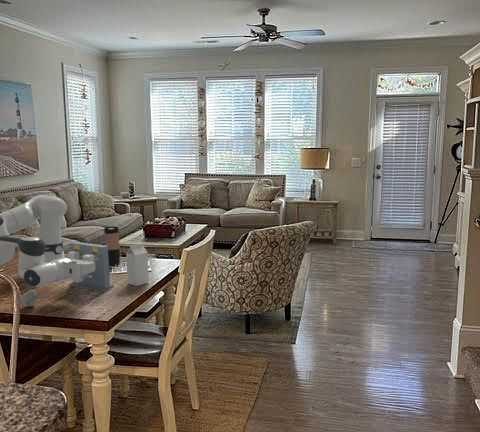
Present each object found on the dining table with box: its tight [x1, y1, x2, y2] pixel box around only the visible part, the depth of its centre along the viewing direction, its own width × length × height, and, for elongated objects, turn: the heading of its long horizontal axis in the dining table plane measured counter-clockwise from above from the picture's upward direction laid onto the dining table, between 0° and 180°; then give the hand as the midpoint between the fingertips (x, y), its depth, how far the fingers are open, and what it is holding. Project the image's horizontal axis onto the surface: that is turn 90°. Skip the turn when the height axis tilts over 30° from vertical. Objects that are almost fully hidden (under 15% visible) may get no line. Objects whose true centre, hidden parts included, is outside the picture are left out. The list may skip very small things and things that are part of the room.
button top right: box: [83, 253, 100, 262], centre depth 213 cm, size 4×10×4 cm, turn 153°
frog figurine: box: [20, 289, 39, 308], centre depth 194 cm, size 6×7×7 cm
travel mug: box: [103, 226, 121, 266], centre depth 258 cm, size 8×8×20 cm
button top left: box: [67, 250, 82, 260], centre depth 220 cm, size 4×10×4 cm, turn 153°
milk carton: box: [125, 242, 150, 287], centre depth 223 cm, size 7×7×19 cm
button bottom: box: [71, 273, 91, 283], centre depth 216 cm, size 4×10×4 cm, turn 153°
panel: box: [68, 241, 115, 292], centre depth 219 cm, size 20×8×20 cm, turn 63°
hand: (86, 261), depth 209 cm, fingers closed
